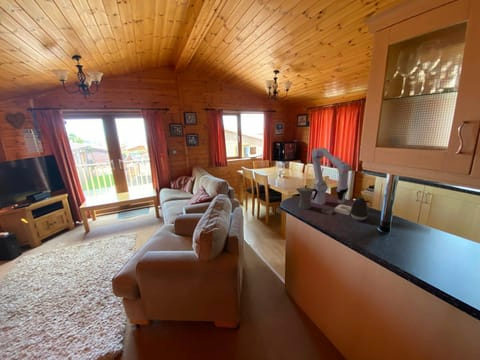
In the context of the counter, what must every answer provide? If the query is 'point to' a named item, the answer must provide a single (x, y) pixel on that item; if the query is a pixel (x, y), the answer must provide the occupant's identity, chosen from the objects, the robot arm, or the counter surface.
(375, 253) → the counter surface
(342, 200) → the plug
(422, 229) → the counter surface
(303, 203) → the coffeepot
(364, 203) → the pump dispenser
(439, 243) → the counter surface
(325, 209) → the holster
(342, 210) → the port
